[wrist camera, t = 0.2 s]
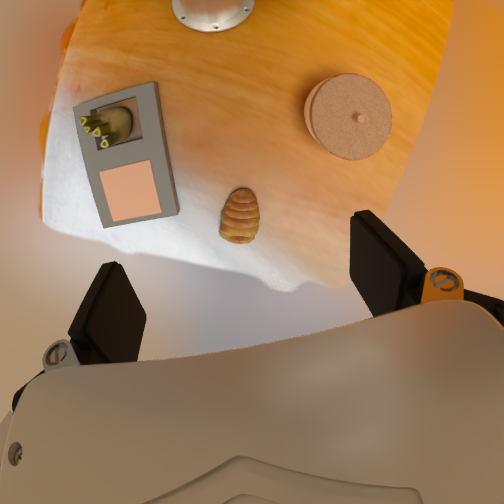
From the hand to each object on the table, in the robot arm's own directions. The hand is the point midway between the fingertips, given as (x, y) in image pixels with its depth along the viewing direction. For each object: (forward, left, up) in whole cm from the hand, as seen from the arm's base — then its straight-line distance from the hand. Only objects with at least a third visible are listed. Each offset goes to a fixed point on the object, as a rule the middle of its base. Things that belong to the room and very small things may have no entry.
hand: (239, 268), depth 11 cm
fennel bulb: (-6, -16, -36) cm, 40 cm away
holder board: (0, -16, -36) cm, 40 cm away
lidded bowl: (-3, +18, -36) cm, 41 cm away
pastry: (+14, +1, -37) cm, 39 cm away
